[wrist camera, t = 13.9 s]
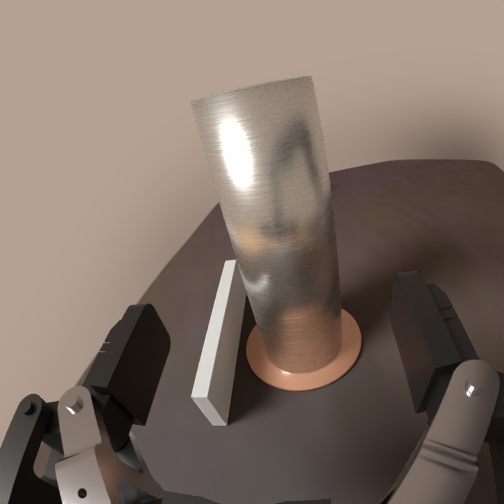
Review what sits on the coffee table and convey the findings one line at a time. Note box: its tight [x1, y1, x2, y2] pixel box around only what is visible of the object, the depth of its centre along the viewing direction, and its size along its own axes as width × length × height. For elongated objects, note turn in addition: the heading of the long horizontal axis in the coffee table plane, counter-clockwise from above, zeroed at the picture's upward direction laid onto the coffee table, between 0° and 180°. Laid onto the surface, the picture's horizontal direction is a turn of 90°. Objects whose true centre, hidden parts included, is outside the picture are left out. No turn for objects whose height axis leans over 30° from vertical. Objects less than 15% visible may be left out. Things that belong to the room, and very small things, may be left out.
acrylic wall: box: [191, 260, 247, 426], centre depth 23 cm, size 14×1×4 cm, turn 175°
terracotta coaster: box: [246, 308, 361, 391], centre depth 23 cm, size 9×9×1 cm
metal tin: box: [191, 76, 342, 374], centre depth 18 cm, size 6×6×18 cm
